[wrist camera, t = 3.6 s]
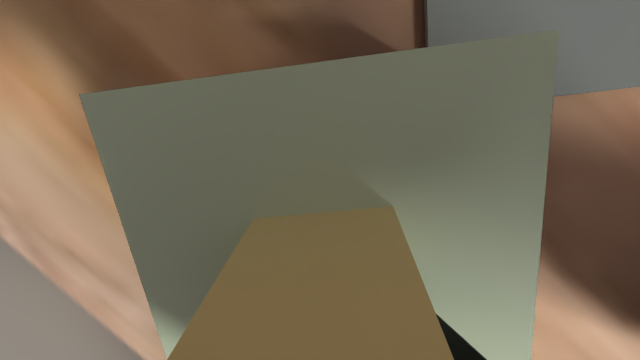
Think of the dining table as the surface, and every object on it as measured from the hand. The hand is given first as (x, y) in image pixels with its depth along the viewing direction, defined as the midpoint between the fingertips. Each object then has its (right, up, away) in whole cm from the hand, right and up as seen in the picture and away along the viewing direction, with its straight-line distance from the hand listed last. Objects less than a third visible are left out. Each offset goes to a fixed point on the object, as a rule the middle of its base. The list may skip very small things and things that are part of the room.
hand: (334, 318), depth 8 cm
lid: (0, 0, +1) cm, 1 cm away
